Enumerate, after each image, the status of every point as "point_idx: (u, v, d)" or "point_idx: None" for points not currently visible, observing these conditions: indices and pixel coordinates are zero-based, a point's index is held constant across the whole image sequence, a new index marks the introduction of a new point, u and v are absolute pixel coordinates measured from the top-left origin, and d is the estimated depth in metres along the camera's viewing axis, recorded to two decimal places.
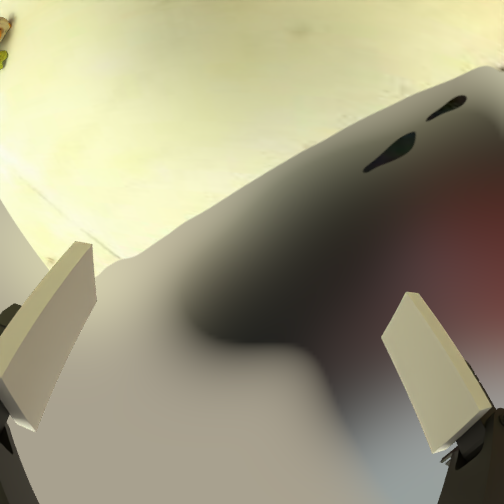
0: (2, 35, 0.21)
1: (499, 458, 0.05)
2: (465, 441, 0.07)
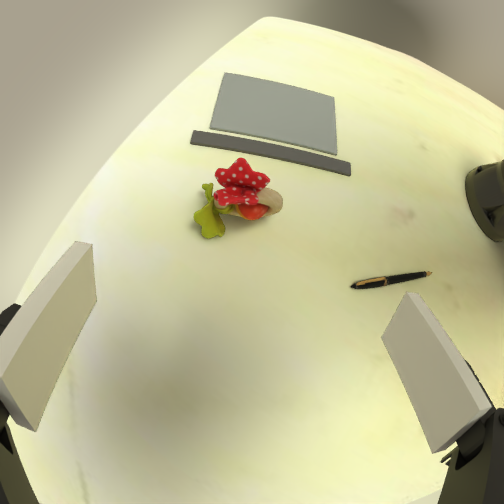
0: None
1: (499, 458, 0.05)
2: (465, 441, 0.07)
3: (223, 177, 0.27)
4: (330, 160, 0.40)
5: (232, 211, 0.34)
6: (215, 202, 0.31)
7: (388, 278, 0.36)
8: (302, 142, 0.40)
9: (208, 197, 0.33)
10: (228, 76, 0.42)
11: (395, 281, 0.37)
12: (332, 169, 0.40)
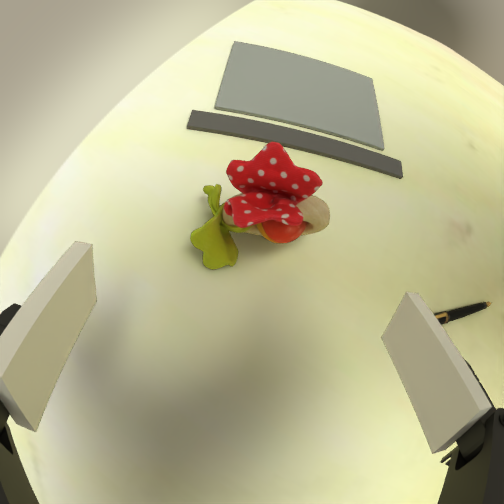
0: None
1: (499, 458, 0.05)
2: (465, 441, 0.07)
3: (241, 175, 0.16)
4: (377, 156, 0.29)
5: (249, 229, 0.22)
6: (225, 216, 0.20)
7: (449, 313, 0.25)
8: (340, 131, 0.29)
9: (213, 207, 0.21)
10: (239, 45, 0.30)
11: (456, 317, 0.25)
12: (380, 168, 0.28)
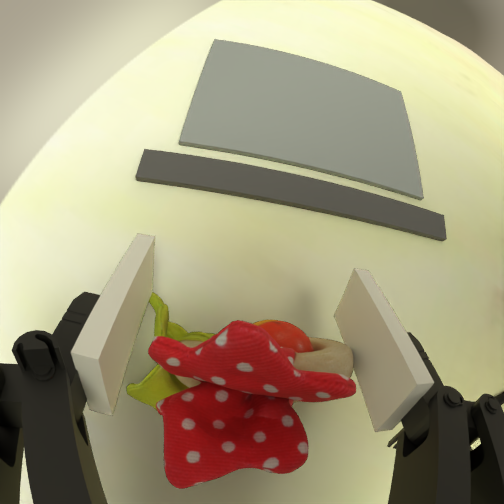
0: None
1: (450, 444, 0.06)
2: (409, 424, 0.08)
3: (179, 370, 0.07)
4: (415, 212, 0.20)
5: None
6: None
7: None
8: (367, 175, 0.20)
9: None
10: (221, 45, 0.21)
11: None
12: (420, 231, 0.19)
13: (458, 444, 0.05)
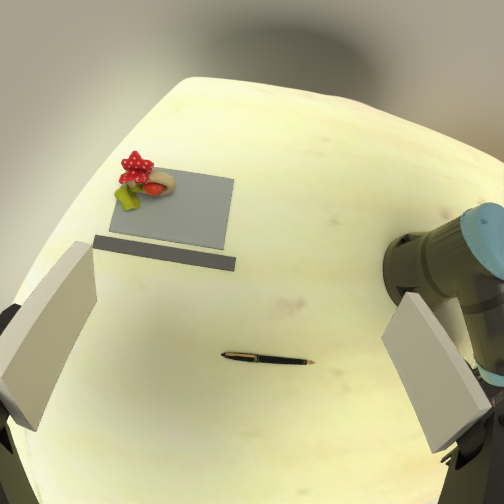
0: None
1: (499, 458, 0.05)
2: (465, 441, 0.07)
3: (125, 165, 0.37)
4: (214, 257, 0.45)
5: (143, 190, 0.44)
6: (127, 183, 0.41)
7: (260, 357, 0.42)
8: (189, 240, 0.45)
9: None
10: None
11: (267, 361, 0.42)
12: (215, 267, 0.45)
13: None
